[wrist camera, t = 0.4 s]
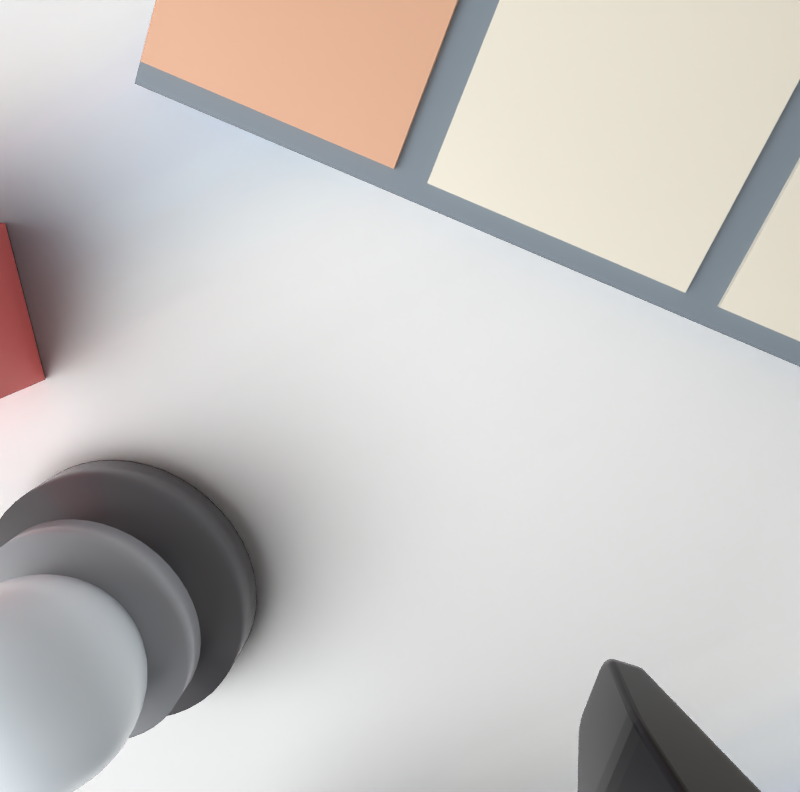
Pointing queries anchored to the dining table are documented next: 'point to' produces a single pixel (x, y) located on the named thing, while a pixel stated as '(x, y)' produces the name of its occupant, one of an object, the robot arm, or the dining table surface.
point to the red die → (15, 328)
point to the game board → (539, 127)
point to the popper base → (161, 548)
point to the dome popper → (85, 650)
